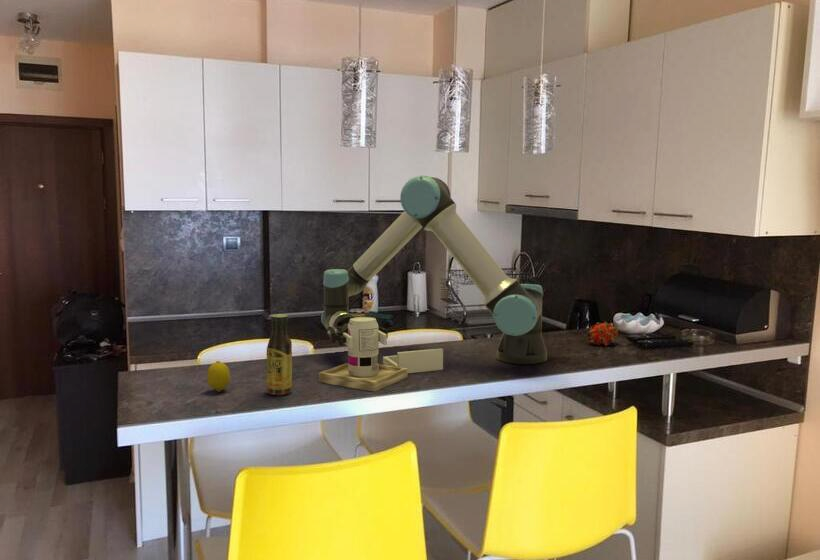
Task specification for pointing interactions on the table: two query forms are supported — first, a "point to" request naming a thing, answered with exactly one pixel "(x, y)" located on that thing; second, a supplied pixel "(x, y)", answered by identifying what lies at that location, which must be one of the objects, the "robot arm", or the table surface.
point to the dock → (417, 360)
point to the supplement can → (363, 347)
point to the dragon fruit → (603, 333)
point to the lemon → (218, 376)
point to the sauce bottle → (279, 357)
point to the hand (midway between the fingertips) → (368, 341)
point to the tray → (373, 383)
